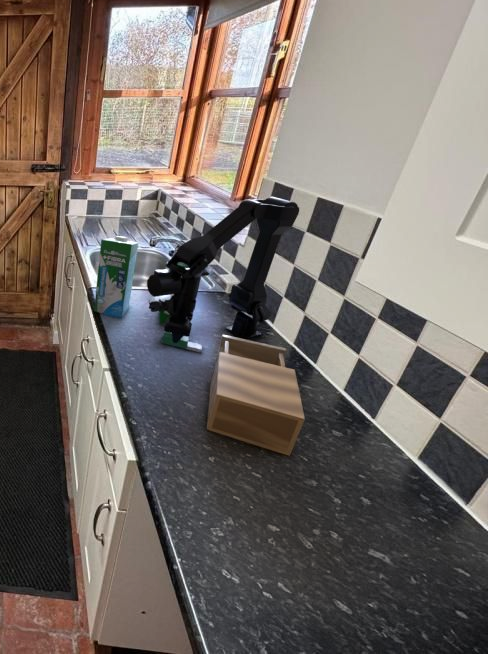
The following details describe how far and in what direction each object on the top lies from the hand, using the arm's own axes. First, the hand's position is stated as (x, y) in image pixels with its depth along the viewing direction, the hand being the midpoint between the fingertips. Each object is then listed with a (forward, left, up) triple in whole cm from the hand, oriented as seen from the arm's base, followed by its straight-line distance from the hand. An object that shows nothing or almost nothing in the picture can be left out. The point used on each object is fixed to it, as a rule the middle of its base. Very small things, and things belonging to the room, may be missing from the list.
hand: (175, 340), depth 114 cm
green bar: (-1, +1, -1) cm, 2 cm away
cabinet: (+7, +27, -1) cm, 28 cm away
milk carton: (+3, -24, -2) cm, 24 cm away
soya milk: (-9, -11, -2) cm, 14 cm away
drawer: (-2, +20, 0) cm, 20 cm away
